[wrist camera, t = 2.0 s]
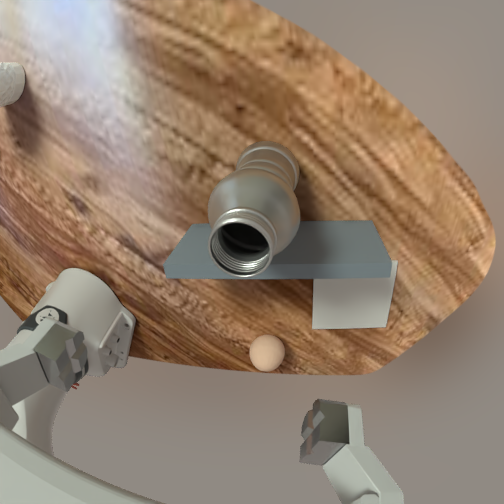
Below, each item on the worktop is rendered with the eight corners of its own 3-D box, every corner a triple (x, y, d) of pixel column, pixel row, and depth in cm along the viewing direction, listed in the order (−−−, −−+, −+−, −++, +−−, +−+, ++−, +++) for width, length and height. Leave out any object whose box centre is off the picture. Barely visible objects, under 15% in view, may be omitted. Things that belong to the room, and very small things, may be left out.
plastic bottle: (262, 125, 33) (220, 167, 15) (311, 162, 34) (325, 244, 17) (229, 170, 36) (162, 255, 18) (277, 204, 37) (255, 316, 20)
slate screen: (368, 264, 39) (383, 313, 30) (199, 265, 43) (175, 312, 34) (371, 220, 36) (392, 262, 28) (192, 224, 40) (163, 264, 31)
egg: (256, 323, 46) (251, 352, 41) (290, 331, 46) (287, 360, 41) (249, 346, 49) (243, 374, 43) (280, 353, 49) (277, 382, 43)
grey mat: (385, 325, 43) (385, 327, 43) (312, 327, 45) (312, 329, 45) (397, 260, 38) (397, 261, 38) (313, 261, 40) (313, 263, 40)
